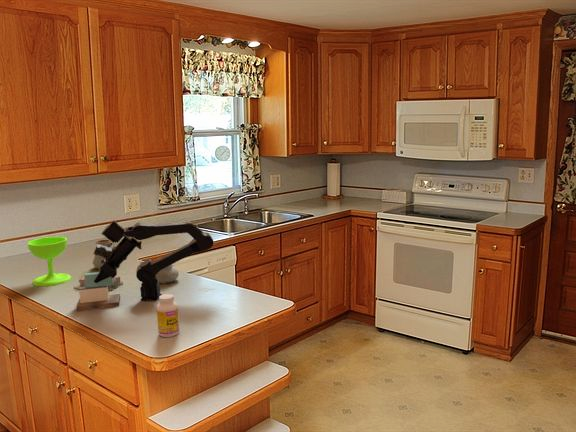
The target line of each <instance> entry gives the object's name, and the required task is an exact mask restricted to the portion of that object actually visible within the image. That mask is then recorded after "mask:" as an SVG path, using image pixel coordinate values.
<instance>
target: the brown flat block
mask: <svg viewBox="0 0 576 432" xmlns="http://www.w3.org/2000/svg"><path fill="white" fill-rule="evenodd" d="M108 296H109V299H108V300H104V301H95V302H86V303H80V298H79V299H78V301H77V304H76V311H85V310H93V309H94V310H95V309H103V307H104V308H111V307H112V306H113V307H119V306H120V301H121V294H120V293H116V294H115V293H114V294H113V293H112V294H108Z"/></svg>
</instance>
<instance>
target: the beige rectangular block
mask: <svg viewBox="0 0 576 432" xmlns="http://www.w3.org/2000/svg"><path fill="white" fill-rule="evenodd" d="M78 293H79V299H80V303H86V302H95V301H104V300H108V299H109V296H108V295H109V291H108V286H98V287H88V288H85V287H80V288H79V289H78Z"/></svg>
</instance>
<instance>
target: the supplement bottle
mask: <svg viewBox="0 0 576 432" xmlns="http://www.w3.org/2000/svg"><path fill="white" fill-rule="evenodd" d="M174 297H175V296H174V295H173V294H171V293H165V294H162V295H161V296H159V299H158V301H159V303H158V304H157V306H156V316H157V317H156V318H157V331H158V336H160V337H162V338H171V337H174V336H177V335H178V334H179V333H180V326H179V324H180V322H179V309H178V307H179V306H178V304H177V302H175V301H174V300H175V298H174Z"/></svg>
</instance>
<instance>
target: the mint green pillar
mask: <svg viewBox="0 0 576 432" xmlns="http://www.w3.org/2000/svg"><path fill="white" fill-rule="evenodd" d="M98 274H99V271H96V272H85V273H84V274H83V275H84V279H85V288H88V287H98V286H107V285H113V278H112V277H108V278H106V279H104V280H102V281H100V282H98V283H95V282H94V280H95V279H96V277H97V275H98Z"/></svg>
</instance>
